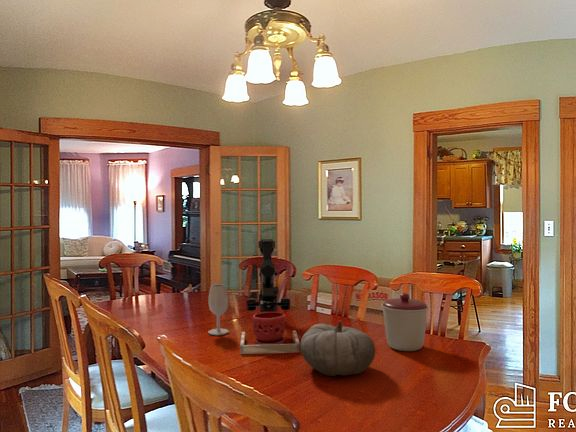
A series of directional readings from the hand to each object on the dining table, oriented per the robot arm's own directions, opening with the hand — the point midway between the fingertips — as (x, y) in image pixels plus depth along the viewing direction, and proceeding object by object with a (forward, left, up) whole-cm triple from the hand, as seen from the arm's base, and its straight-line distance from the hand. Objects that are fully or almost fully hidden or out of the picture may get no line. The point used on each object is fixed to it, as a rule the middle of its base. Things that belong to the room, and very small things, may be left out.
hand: (268, 321), depth 185 cm
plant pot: (+7, +6, -7) cm, 11 cm away
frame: (+8, +6, -7) cm, 12 cm away
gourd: (+16, +41, -7) cm, 45 cm away
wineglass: (+7, -23, -7) cm, 25 cm away
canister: (-20, +51, -7) cm, 56 cm away
